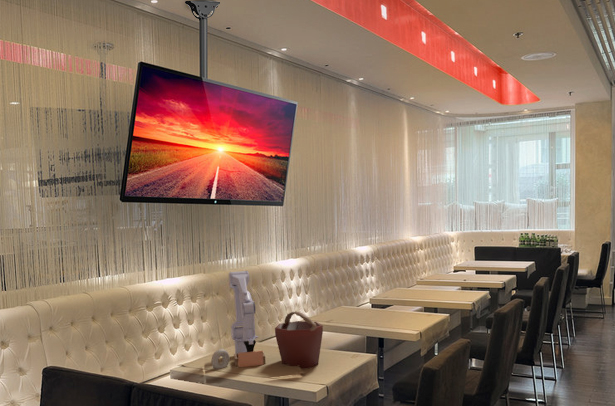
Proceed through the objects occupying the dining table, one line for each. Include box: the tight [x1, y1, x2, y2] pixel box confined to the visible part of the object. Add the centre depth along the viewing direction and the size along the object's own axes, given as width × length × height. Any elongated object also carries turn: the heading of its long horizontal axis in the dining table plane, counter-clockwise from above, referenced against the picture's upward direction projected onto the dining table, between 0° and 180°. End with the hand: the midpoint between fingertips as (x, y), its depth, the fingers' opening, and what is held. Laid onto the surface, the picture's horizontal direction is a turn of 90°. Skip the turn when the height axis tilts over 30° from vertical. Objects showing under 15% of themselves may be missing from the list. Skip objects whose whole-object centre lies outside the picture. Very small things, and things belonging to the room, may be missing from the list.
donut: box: [210, 348, 230, 370], centre depth 277 cm, size 10×3×10 cm, turn 137°
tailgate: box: [237, 350, 265, 368], centre depth 277 cm, size 1×12×7 cm, turn 102°
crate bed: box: [233, 352, 266, 368], centre depth 283 cm, size 11×14×5 cm
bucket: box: [274, 311, 324, 370], centre depth 280 cm, size 24×22×25 cm
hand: (250, 356), depth 278 cm, fingers closed, pressing on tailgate
